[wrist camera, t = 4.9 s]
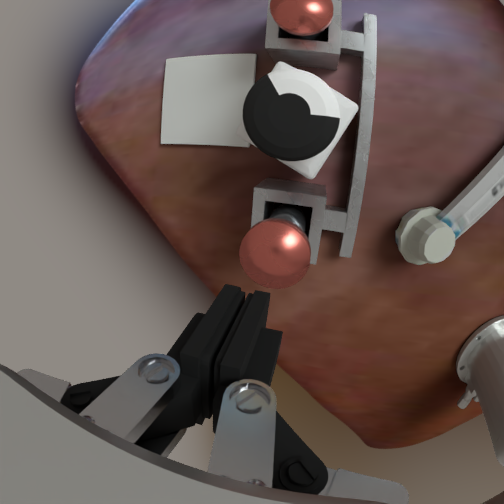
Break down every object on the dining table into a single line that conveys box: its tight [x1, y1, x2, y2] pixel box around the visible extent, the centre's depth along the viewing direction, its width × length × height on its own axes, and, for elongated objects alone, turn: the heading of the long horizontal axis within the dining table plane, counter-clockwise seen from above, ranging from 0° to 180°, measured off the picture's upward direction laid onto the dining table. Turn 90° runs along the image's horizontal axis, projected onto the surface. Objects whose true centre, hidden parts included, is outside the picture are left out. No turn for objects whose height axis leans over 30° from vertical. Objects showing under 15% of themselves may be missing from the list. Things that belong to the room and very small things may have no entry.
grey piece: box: [395, 146, 504, 265], centre depth 22 cm, size 5×7×25 cm
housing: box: [251, 0, 377, 264], centre depth 23 cm, size 25×10×6 cm, turn 176°
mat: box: [161, 54, 257, 147], centre depth 27 cm, size 10×10×1 cm
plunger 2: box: [239, 204, 311, 289], centre depth 22 cm, size 5×5×8 cm
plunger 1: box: [270, 0, 333, 42], centre depth 18 cm, size 5×5×8 cm
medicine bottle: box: [236, 61, 358, 179], centre depth 21 cm, size 7×7×12 cm
